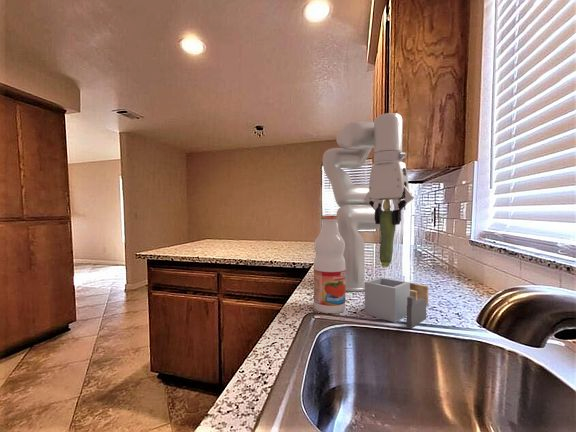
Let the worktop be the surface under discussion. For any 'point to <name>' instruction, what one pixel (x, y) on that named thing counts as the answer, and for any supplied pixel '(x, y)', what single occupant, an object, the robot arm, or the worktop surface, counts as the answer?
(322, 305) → the fruit juice
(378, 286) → the grey open box
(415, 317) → the grey square panel
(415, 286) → the holder
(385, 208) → the vegetable
